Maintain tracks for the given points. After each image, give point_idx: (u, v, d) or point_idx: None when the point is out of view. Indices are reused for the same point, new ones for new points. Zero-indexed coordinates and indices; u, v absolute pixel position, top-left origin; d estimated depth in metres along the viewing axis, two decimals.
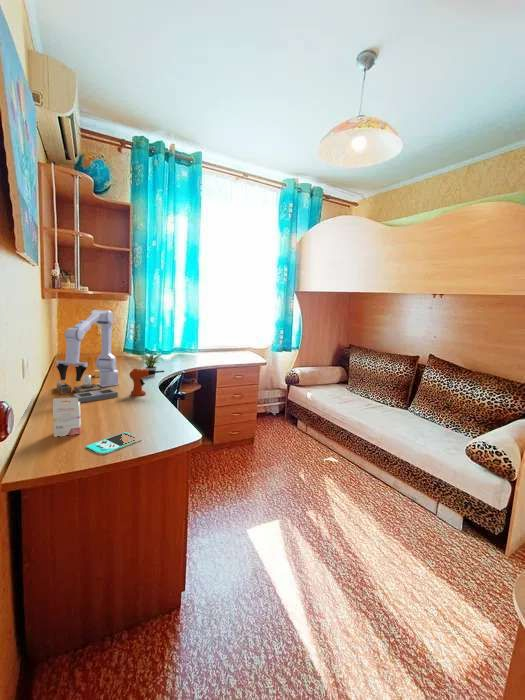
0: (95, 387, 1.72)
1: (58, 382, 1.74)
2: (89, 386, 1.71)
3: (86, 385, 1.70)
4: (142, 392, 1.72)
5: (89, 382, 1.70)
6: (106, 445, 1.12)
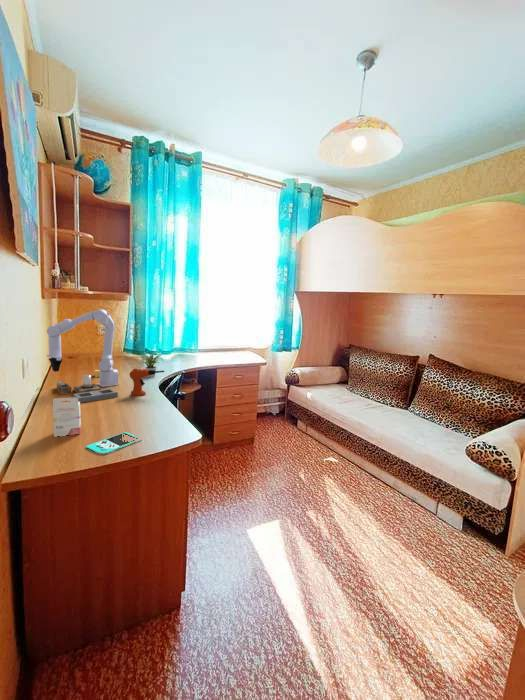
0: (95, 387, 1.72)
1: (58, 382, 1.74)
2: (89, 386, 1.71)
3: (86, 385, 1.70)
4: (142, 392, 1.72)
5: (89, 382, 1.70)
6: (106, 445, 1.12)
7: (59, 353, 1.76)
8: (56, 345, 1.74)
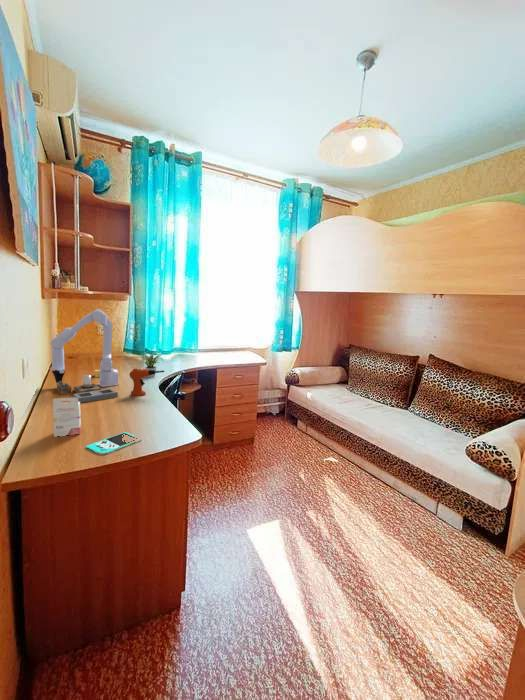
0: (95, 387, 1.72)
1: (58, 382, 1.73)
2: (89, 386, 1.71)
3: (86, 385, 1.70)
4: (142, 392, 1.72)
5: (89, 382, 1.70)
6: (106, 445, 1.12)
7: (62, 365, 1.73)
8: (60, 357, 1.72)
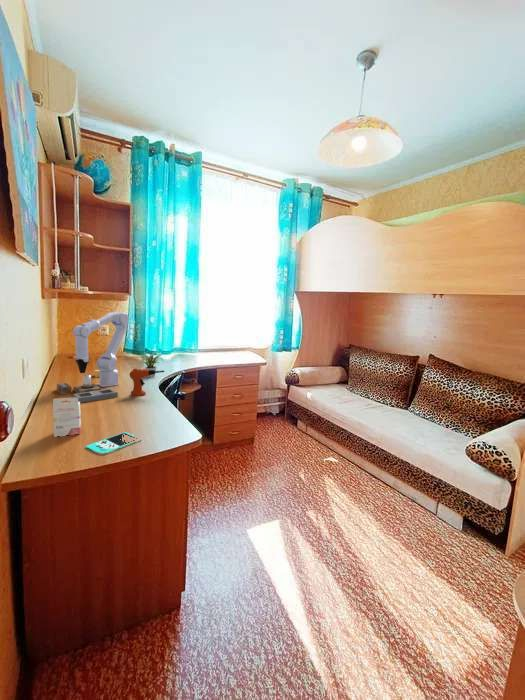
0: (95, 387, 1.72)
1: (60, 383, 1.71)
2: (89, 386, 1.71)
3: (86, 385, 1.70)
4: (142, 392, 1.72)
5: (89, 382, 1.70)
6: (106, 445, 1.12)
7: (86, 354, 1.69)
8: (87, 345, 1.70)
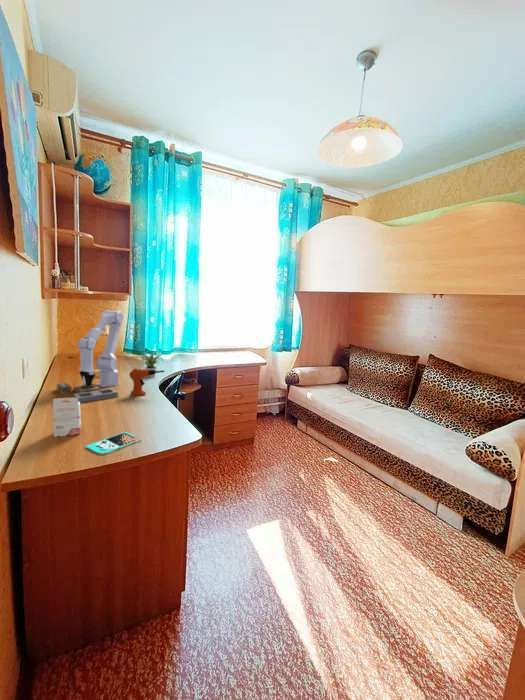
0: (95, 387, 1.72)
1: (60, 383, 1.71)
2: (89, 386, 1.71)
3: None
4: (142, 392, 1.72)
5: None
6: (106, 445, 1.12)
7: (91, 367, 1.69)
8: (92, 358, 1.70)
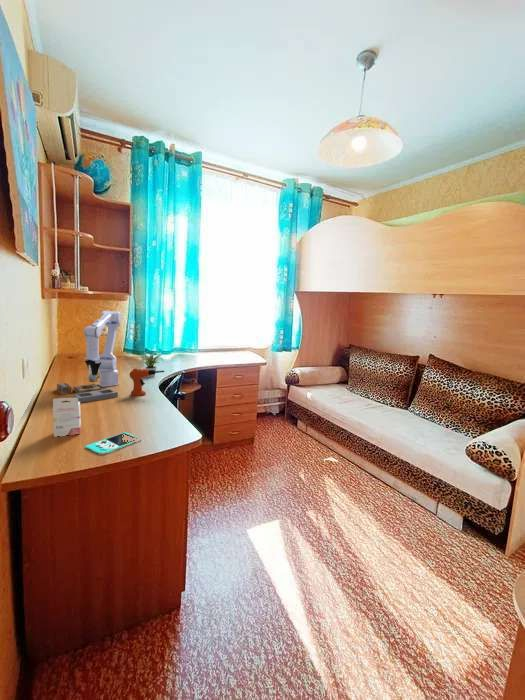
0: (95, 387, 1.72)
1: (60, 383, 1.71)
2: (95, 375, 1.68)
3: None
4: (142, 392, 1.72)
5: None
6: (106, 445, 1.12)
7: (97, 355, 1.67)
8: (98, 346, 1.68)
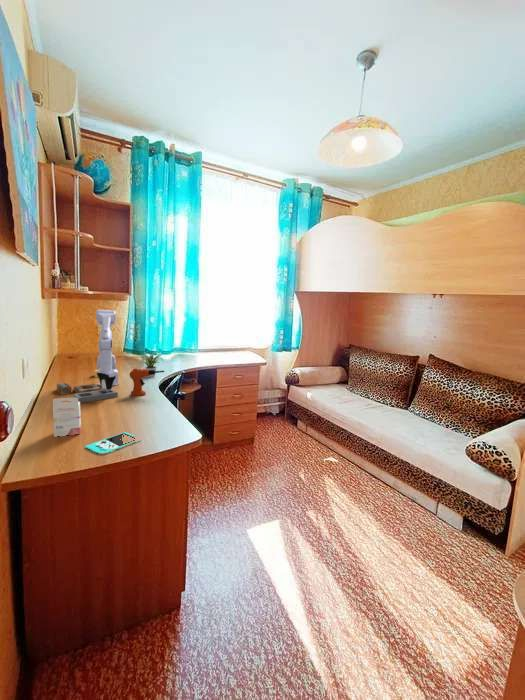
0: (95, 387, 1.72)
1: (60, 383, 1.71)
2: (108, 390, 1.65)
3: (105, 389, 1.64)
4: (142, 392, 1.72)
5: None
6: (105, 445, 1.12)
7: (110, 369, 1.64)
8: None
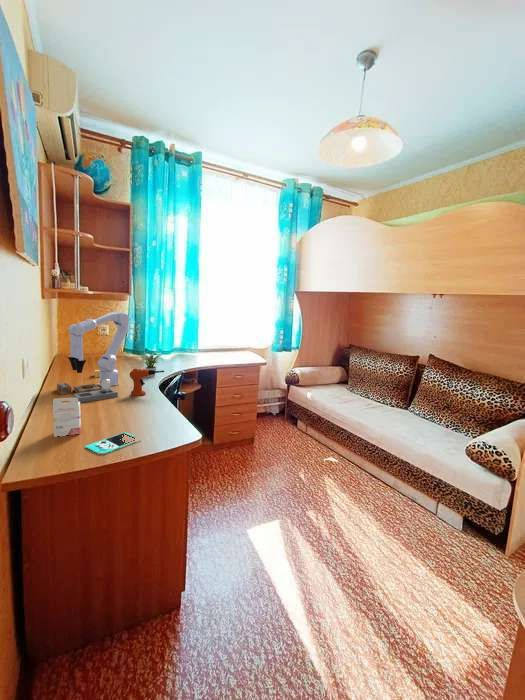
0: (95, 387, 1.72)
1: (60, 383, 1.71)
2: (108, 390, 1.65)
3: (105, 389, 1.64)
4: (142, 392, 1.72)
5: (107, 386, 1.65)
6: (105, 445, 1.12)
7: (81, 353, 1.70)
8: (81, 344, 1.70)
